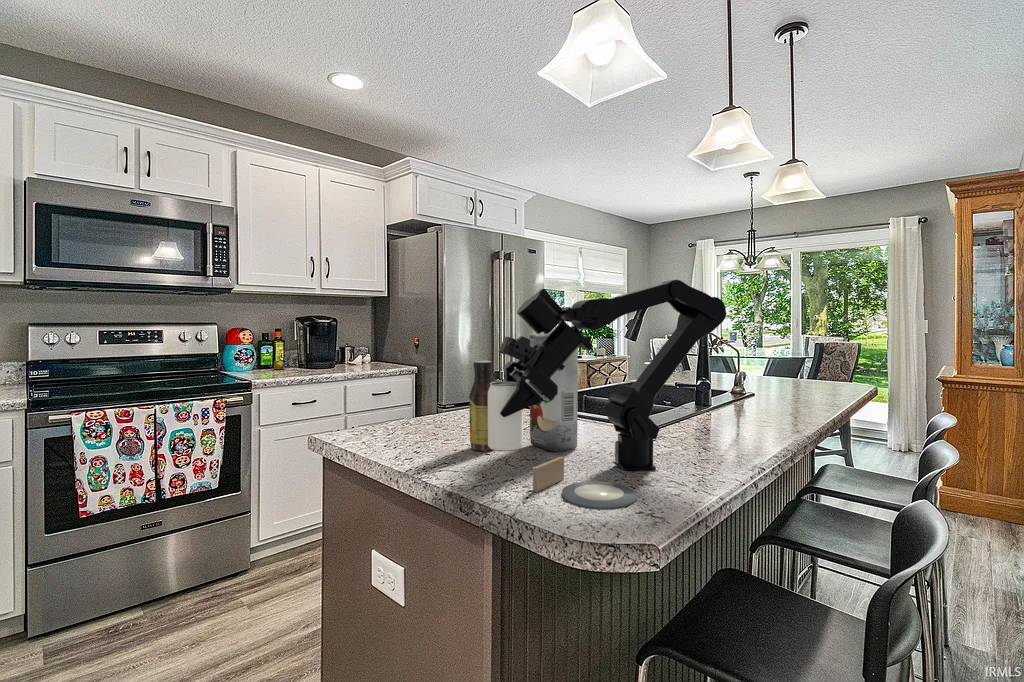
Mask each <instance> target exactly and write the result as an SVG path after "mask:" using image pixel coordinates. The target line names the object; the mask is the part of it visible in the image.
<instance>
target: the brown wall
mask: <svg viewBox="0 0 1024 682" xmlns="http://www.w3.org/2000/svg"><path fill="white" fill-rule="evenodd" d="M563 480H565V457H564V456H558V457H556V458H553V459H552V460H551V459H550V460H549V461H546V462H544V463H541V464H539V465H536V466H534V467H532V492H535V493H538V492H541V491H542V490H545V489H547V488H549V487H551V486H552V485H555V484H556V483H560V482H561V481H563Z"/></svg>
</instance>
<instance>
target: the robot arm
mask: <svg viewBox="0 0 1024 682" xmlns="http://www.w3.org/2000/svg"><path fill="white" fill-rule="evenodd" d="M664 303H668V304H669V305H670V306H671V308H672V309H673V310H674V311H675V312H677V313H678V314H679V315H678V318H677V324H676V328H675V330H673V332H672V334H671V335H670V337H668V339H667V340H666V342H665V343H664V344H663V345H662V346H661V348H660V349H659V351H658V352H657V353H656V355H655V356H654V357H653V358H652V359H651V361H650V362H649V363H648V365H647V366H646V367H645V368H644V370H643V371H642V372H641V374H640V375H639V376H638V378H637V379H636V380H635V381H634V382H633V383H631V384H630V385H626V384H619V385H618V387H617V388H616V389H615V392H614V393H613V394H612V395H611V396H609V397H608V398H607V400H608V401H609V402H608V404H607V405H606V408H605V410H606V417H607V419H608V421H609V422H610V423H611V424H612V425H613V428H614V430H615V432H618V433H617V440H616V441H615V443H614V462H615V464H617V465H618V466H619V468H620V469H621V470H623V471H640V470H641V471H643V470H644V471H646V470H647V471H648V470H651V471H653V470H655V471H656V469H657V466H656V465H655V464H654V440H657V438H658V435H659V432H660V427H659V426H658V425H657V424H656V423H655V422H654V421H653V420H652V419H651V418H650V415H651V414H652V412H653V411H654V410H653V409H654V405H655V398H656V396H657V395H658V393H659V392H660V390H661V389H662V387H664V385H666V383H667V382H668V380H669V379H670V378H671V376H672V374H673V373H674V372H675V371H676V370H677V368H678V367H679V365H680V364H681V363H682V362H683V360H684V359H685V358H686V357H687V356H688V354H689V352H690V351H691V350H692V349H693V348H694V346H695V345H696V344H697V342H698V341H700V340H701V339H702V338H704V337H706V336H708V335H709V334H711V333H712V332H713V331H714V330H716V329H717V328H718V327H719V326H720V325H721V324H722V323H723V322H724V321H725V319H726V317H727V311H726V309H727V307H726V306H725V303H724V301H723V300H722V299H720V297H716V296H711V295H709V294H708V293H706V292H704V291H701V290H699V289H697V288H695V287H692V286H690V285H689V284H687V283H685V282H684V281H682V280H680V279H671V280H665V281H662V282H661V283H658V284H656V285H651V286H648V287H645V288H641V289H639V290H634V291H631V292H628V293H624V294H620V295H617V296H613V297H602V298H593V299H585V300H579V301H576V302H574V303H573V304H572V306H571V307H570V306H564V307H561V305H559V303H557V302H556V301H555V300H554V298H552V296H551V295H550V292H549V291H547V290H546V289H545V288H541V289H539V290H538V291H537V292H536V293H535V294H533V295H532V296H531V297H530V298H529V299H527V300H525V301H524V302H523V303H522V304H521V305H520V306H519V308H518V309H517V311H516V314H517V316H519V317H520V318H521V319H522V320H523V321H524V322H525V323H526V324H527V325H528V326H529V327H530V329H532V330H533V331H534V333H536V335H540V333H541V332H543V333H544V334H547V333H549V332H550V331H552V330H553V331H552V332H551V333H550V334H549V335H548V336H547V338H546V339H545V340H544V341H543V342H542V343H541V344H540V345H539V344H535V345H533V347H531V346H530V338H528V337H525V336H523V335H522V336H519V337H518V338H516V339H515V338H513V337H510V336H504V338H503V340H502V343H501V345H500V347H499V349H498V353H500V354H503V355H507V356H509V357H512V358H514V359H516V360H517V361H516V360H515V361H511V360H509V361H508V362H507V363H506V364H505V365H504V366H503V367H502V369H503V375H504V382H517V388H516V390H515V392H514V393H513V394H512V396H511V397H510V399H509V400H508V402H507V403H506V404H505V406H504V407H503V409H502V411H501V412H500V414H501V415H502V416H503V417H507V416H509V415H511V414H513V413H516V412H518V411H520V410H522V409H523V410H525V409H526V408H530V406H532V405H534V404H537V403H539V402H543V401H544V399H543V398H542V396H543V395H545V396H544V398H546V399H547V400H549V401H551V400H552V399H553V398H554V397H555V396H556V395H557V394H558V386H557V385H556V384H555V383H554V382H553V381H552V380H551V379H550V378H551V377H552V376H553V375H554V374H555V372H556V371H557V370H563V368H564V367H565V366H564V365H563V364H564V363H565V362H566V360H567V359H568V358H569V357H570V356H571V355H572V354H573V353H574V352H575V351H576V349H577V348H578V349H579V347H580V348H581V349H582V350H583V351H584V350H585V351H591V350H592V349H593V347H592V346H593V345H592V336H591V335H584V334H583V332H581V331H580V330H587V331H588V330H589V331H594V330H596V331H597V330H599V329H602V328H604V327H605V326H607V325H609V324H611V323H614V322H615V321H616V320H617V319H619V318H620V317H622V316H624V315H628V314H631V313H635V312H639V311H641V310H644V309H648V308H651V307H654V306H658V305H661V304H664ZM567 322H569V323H571V324H572V326H570V325H569V324H568V323H567Z"/></svg>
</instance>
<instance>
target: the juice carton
mask: <svg viewBox="0 0 1024 682" xmlns="http://www.w3.org/2000/svg"><path fill="white" fill-rule="evenodd" d="M553 330H554V329H553ZM553 330H552V331H553ZM552 331H550V332H549V333H547V334H544V333H543V332H541V333H540V334H532V335H531V334H530V335H529V339H530V346H531V347H533V345H535V344H539V345H540V344H541V343H542V342H543V341H544V340H545V339H546V338H547V336H548V335H549V334H550V333H551V332H552ZM578 349H579V347H578V348H577V349H576V351H575V352H574V353H573V354H572V355H571V356H570V357H569V358H568V359H567V360H566V362H565V363H564V364H563V365H564V366H565V367H564V368H563V370H557V371H556V372H555V374H554V375H553V376H552V377H551V378H550V379H551V380H552V381H553V382H554V383H555V384H556V385H557V386H558V394H557V395H556V396H555V397H554V398H553V399H552V400H551V401H549V400H547V399H546V398H544V396H545V395H543V396H542V398H543V399H544V401H543V402H539V403H537V404H534V405H532V406H529V436H530V438H529V439H530V444H531V445H532V446H535V447H537V448H540V449H543V450H546V451H548V452H550V453H554V452H559V451H567V450H573V449H574V450H575V449H576V448H577V447H578V392H579V391H578V390H579V389H578V385H579V383H578V382H579V381H578V380H579V379H578V378H579V377H578V376H579V375H578V368H579V367H578V364H579V363H578V355H579V354H578V353H579V351H578Z"/></svg>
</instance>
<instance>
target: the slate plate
mask: <svg viewBox="0 0 1024 682" xmlns="http://www.w3.org/2000/svg"><path fill="white" fill-rule="evenodd" d="M561 491H562V492H561V495H562V498H563V499H564V500H566V501H567V502H569V503H571V504H573V505H577V506H580V507H583V508H584V507H586V508H590V509H591V508H592V509H618V508H625V507H627V506H631V505H633V504H634V503H635V502H636V501H637V493H636V491H635V490H634V489H632V488H631V487H628V486H625V485H622V484H619V483H613V482H608V481H592V480H591V481H580V482H575V483H571V484H568V485H566V486H564V487H563V489H562V490H561Z"/></svg>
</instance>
